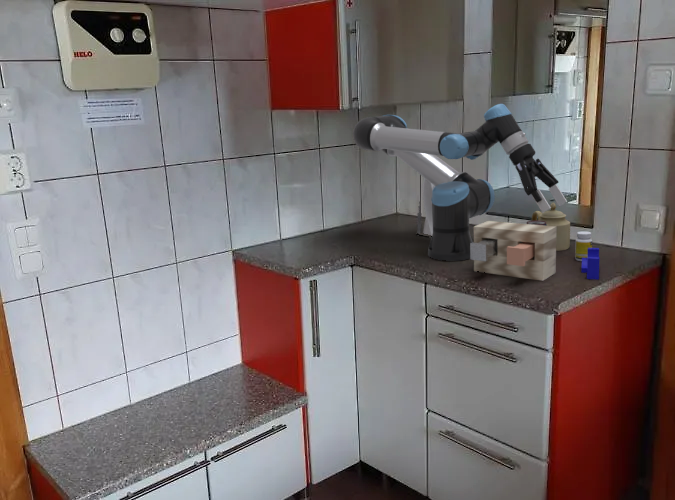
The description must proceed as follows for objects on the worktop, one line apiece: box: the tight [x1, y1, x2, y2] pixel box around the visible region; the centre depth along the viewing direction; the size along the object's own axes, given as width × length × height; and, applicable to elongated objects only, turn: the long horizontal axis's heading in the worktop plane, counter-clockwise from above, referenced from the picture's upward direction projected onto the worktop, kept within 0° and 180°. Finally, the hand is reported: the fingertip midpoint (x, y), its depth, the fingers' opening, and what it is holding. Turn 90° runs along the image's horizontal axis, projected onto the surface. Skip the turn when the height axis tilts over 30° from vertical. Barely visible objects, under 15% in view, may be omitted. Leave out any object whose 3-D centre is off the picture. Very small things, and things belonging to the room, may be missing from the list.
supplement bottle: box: [574, 231, 593, 262], centre depth 190 cm, size 5×5×8 cm
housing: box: [473, 220, 557, 282], centre depth 182 cm, size 21×9×14 cm, turn 50°
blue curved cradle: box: [581, 247, 600, 280], centre depth 177 cm, size 12×4×6 cm, turn 159°
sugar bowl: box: [531, 202, 571, 252], centre depth 208 cm, size 15×11×15 cm
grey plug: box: [469, 238, 498, 261], centre depth 181 cm, size 5×12×5 cm, turn 140°
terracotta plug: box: [507, 242, 535, 266], centre depth 174 cm, size 5×12×5 cm, turn 140°
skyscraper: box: [416, 177, 435, 236], centre depth 234 cm, size 8×8×28 cm
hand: (555, 207), depth 193 cm, fingers open, 13 cm apart
